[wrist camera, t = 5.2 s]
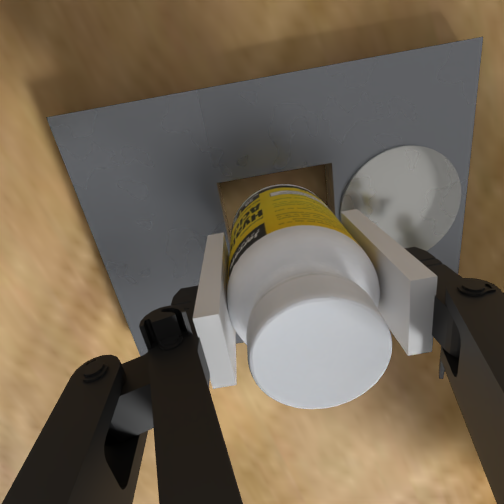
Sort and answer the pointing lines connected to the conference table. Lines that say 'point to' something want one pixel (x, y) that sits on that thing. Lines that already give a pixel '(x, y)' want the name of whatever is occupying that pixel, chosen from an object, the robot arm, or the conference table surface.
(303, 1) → the conference table surface
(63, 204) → the conference table surface
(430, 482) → the conference table surface
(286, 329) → the supplement bottle
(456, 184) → the housing plate
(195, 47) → the conference table surface
